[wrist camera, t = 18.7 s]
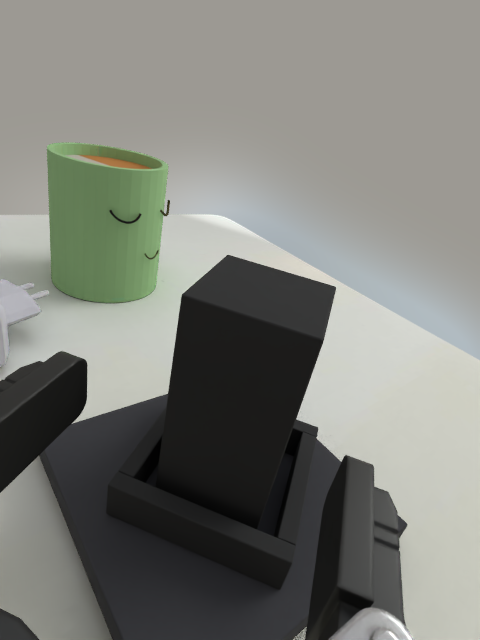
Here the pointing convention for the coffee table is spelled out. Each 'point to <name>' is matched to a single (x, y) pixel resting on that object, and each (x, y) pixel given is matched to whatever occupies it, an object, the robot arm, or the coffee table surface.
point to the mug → (105, 221)
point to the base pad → (187, 534)
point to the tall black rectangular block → (239, 383)
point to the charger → (15, 310)
